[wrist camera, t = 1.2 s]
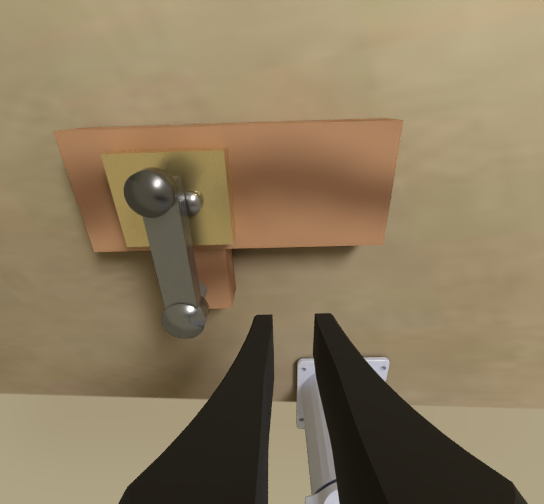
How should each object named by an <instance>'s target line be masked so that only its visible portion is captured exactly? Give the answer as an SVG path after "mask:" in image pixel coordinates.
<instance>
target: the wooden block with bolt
mask: <svg viewBox="0 0 544 504" xmlns="http://www.w3.org/2000/svg"><path fill="white" fill-rule="evenodd" d="M101 158H102V161H103V165H104V168H105V172H106V175H107V179H108V182H109V186H110V189H111V193H112V196H113V200H114V203H115V207H116V210H117V214H118V217H119V221H120V224H121V228H122V231H123V235H124V238H125V242H126V245H127V247H147V246H150V245H149V241H148V237H147V233H146V229H145V225H144V221H143V217H142V216H141V215H139V214H137V213H136V212H134V211H133V210H132V209H131V208H130V207H129V205H128V204H127V202H126V200H125V197H124V184H125V182H126V180H127V179H128V178H129V177H130V176H131V175H133V174H135V173H137V172H139V171H141V170H143V169H145V168H149V167H155V168H159V169H162V170H164V171H166V172H167V173H169V174H170V175H171V176H173V175H181V179H182V185H183V191H184V197H185V203H186V209H187V215H188V220H189V226H190V232H191V238H192V244H193V245H226V244H233V243H234V240H235V236H236V226H235V215H234V204H233V193H232V182H231V172H230V161H229V150H228V147H197V148H165V149H132V150H114V151H110V152H107V153H103V154H101Z"/></svg>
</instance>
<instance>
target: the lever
mask: <svg viewBox="0 0 544 504" xmlns="http://www.w3.org/2000/svg"><path fill="white" fill-rule="evenodd" d="M124 197H125V200H126V202H127V204H128V205H129V207H130V208H131V209H132V210H133V211H134V212H136V213H137V214H139V215H141V216H142V217H143V221H144V225H145V229H146V233H147V237H148V241H149V245H150V249H151V253H152V257H153V262H154V266H155V270H156V274H157V278H158V282H159V286H160V290H161V294H162V298H163V302H164V306H165V312H164V313H163V316H162V324H163V327H164V328H165V330H166V331H167V332H168V333H170V334H171V335H173V336H175V337H178V338H183V339H189V338H194V337H196V336H198V335H199V334H200V333H201V332H202V331H203V329H204V326H205V322H206V319H207V316H208V313H209V305H208V303H207V301H206V300H205V299H204V298H203V297H202V296H201V291H200V285H199V279H198V273H197V267H196V262H195V256H194V250H193V244H192V238H191V232H190V226H189V220H188V215H187V209H186V203H185V197H184V191H183V185H182V179H181V175H173V176H171V175H170V174H169V173H167V172H166V171H164V170H162V169H159V168H155V167H149V168H145V169H143V170H141V171H139V172H137V173H135V174H133V175H131V176H130V177H129V178H128V179H127V180H126V182H125V184H124Z"/></svg>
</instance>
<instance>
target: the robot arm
mask: <svg viewBox="0 0 544 504" xmlns="http://www.w3.org/2000/svg"><path fill="white" fill-rule="evenodd" d="M313 357H314V358H308V359H300V360H298V362H297V421H296V423H297V427H298V428H299V429H305V433H306V442H307V453H308V463H309V474H310V484H311V494H312V495H311V496H307V497H305V504H527V502H526V501H525V499H524V498H523V497H522V496H521V494H520V493H519V491H518V490H517V489H516V487H515V486H514V484H513V483H512V482H511V481H509V480H508V479H507V478H505V477H503V476H502V475H501V474H499V473H498V472H496V471H495V470H493V469H492V468H490V467H489V466H487V465H486V464H485V463H483V462H482V461H480V460H478V459H477V458H476V457H474V456H473V455H471V454H470V453H469V452H467V451H466V450H464V449H463V448H462V447H460V446H459V445H458V444H456V443H455V442H453V441H452V440H451V439H450V438H448V437H447V436H446V435H444V434H443V433H442V432H441V431H439V430H438V429H437V428H436V427H435V426H433V425H432V424H431V423H430V422H429V421H427V420H426V419H425V418H424V417H423V416H421V415H420V414H419V413H418V412H416V411H415V410H414V409H413V408H412V407H411V406H410V405H409V404H408V403H407V402H406V401H404V400H403V399H402V398H401V397H400V396H399V395H398V394H397V393H396V392H395V391H394V390H393V389H392V388H391V387H390V386H389V385H388V384H387V383H386V378H387V373H388V369H389V360H388V359H387V358H386V357H363V356H362V355H361V354H360V352H359V351H358V350H357V349H356V347H355V346H354V345H353V344H352V342H351V341H350V340H349V338H348V337H347V336H346V334H345V333H344V331H343V330H342V329H341V327H340V326H339V324H338V323H337V321H336V319H335V318H334V316H333V315H332V314H331V313H324V314H315V321H314V342H313ZM273 384H274V346H273V319H272V315H256V316H255V317H254V319H253V323H252V326H251V328H250V331H249V333H248V335H247V337H246V340H245V342H244V344H243V346H242V348H241V350H240V352H239V353H238V355H237V357H236V359H235V361H234V362H233V364H232V366H231V367H230V369H229V371H228V372H227V374H226V376H225V377H224V379H223V380H222V382H221V383H220V385H219V386H218V388H217V389H216V390H215V392H214V393H213V395H212V396H211V397H210V399H209V400H208V402H207V403H206V404H205V405H204V407H203V408H202V409H201V410H200V412H199V413H198V414H197V415H196V417H195V418H194V419H193V420H192V421H191V422H190V424H189V425H188V426H187V427H186V428H185V429H184V431H182V433H181V434H180V435H179V436H178V437H177V438H176V439H175V440H174V441H173V442H172V443H171V445H170V446H169V447H168V448H167V449H166V450H165V451H164V452H163V453H162V454H161V455H160V456H159V457H158V458H157V459H156V460H155V461H154V462H153V463H152V464H151V465H150V466H149V467H148V468H147V469H146V470H145V471H144V472H142V473H141V474H140V476H138V477H137V478H136V479H135V480H134V481H133V482H132V483H131V484H130V485H129V486H128V487H127V489H126V490H125V492H124V494H123V496H122V498H121V500H120V502H119V504H268V443H269V431H270V418H271V407H272V396H273Z"/></svg>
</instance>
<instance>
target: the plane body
mask: <svg viewBox="0 0 544 504" xmlns="http://www.w3.org/2000/svg"><path fill="white" fill-rule="evenodd" d="M402 125H403V120H397V119H388V118H379V119H348V120H316V121H285V122H254V123H223V124H192V125H160V126H129V127H98V128H77V129H69V130H61V131H53V134H54V137H55V139H56V142H57V145H58V148H59V151H60V154H61V157H62V160H63V163H64V166H65V168H66V171H67V174H68V177H69V180H70V183H71V186H72V189H73V192H74V194H75V197H76V200H77V203H78V206H79V209H80V212H81V215H82V218H83V221H84V223H85V226H86V229H87V232H88V235H89V238H90V241H91V244H92V247H93V250H94V252H117V251H151V249H150V246H147V247H127V245H126V242H125V238H124V235H123V231H122V228H121V224H120V221H119V217H118V214H117V210H116V207H115V203H114V200H113V196H112V193H111V189H110V186H109V182H108V179H107V175H106V172H105V168H104V165H103V161H102V158H101V154H103V153H107V152H110V151H114V150H132V149H165V148H197V147H228V150H229V161H230V172H231V182H232V193H233V204H234V215H235V226H236V236H235V240H234V243H233V244H226V245H193V250H194V256H195V262H196V267H197V273H198V279H199V285H200V291H201V296H202V297H203V298H204V299H205V300H206V301H207V303H208V305H209V309H217V308H232V304H233V299H234V294H235V289H236V285H235V275H234V266H233V256H232V249H237V248H277V247H317V246H357V245H383V243H384V237H385V231H386V224H387V218H388V212H389V206H390V200H391V193H392V187H393V181H394V175H395V168H396V162H397V156H398V150H399V143H400V137H401V131H402Z"/></svg>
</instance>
